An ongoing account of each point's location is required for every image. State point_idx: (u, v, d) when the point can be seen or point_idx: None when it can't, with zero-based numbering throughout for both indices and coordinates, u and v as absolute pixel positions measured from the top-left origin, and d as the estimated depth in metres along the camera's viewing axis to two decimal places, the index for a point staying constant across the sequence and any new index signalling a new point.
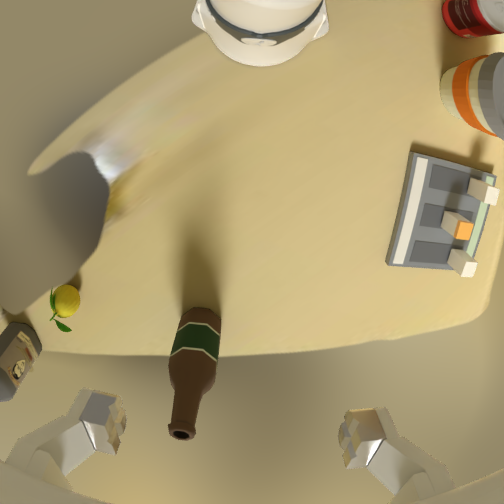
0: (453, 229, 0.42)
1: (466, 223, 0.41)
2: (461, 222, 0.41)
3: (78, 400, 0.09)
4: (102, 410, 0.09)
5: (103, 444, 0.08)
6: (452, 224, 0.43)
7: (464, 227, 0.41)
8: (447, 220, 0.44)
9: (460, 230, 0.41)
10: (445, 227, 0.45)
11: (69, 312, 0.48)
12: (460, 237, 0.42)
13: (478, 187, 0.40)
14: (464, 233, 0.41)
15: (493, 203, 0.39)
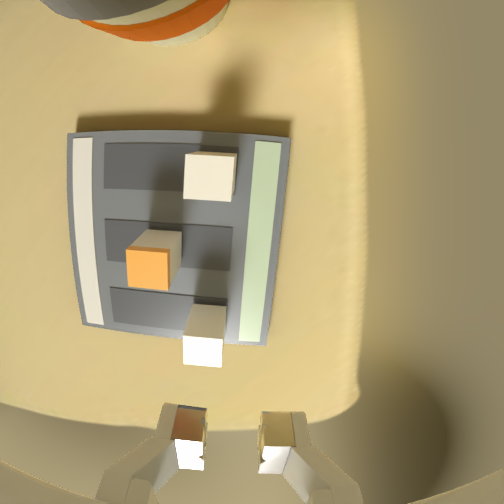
0: None
1: (144, 252, 0.21)
2: (129, 251, 0.21)
3: (164, 417, 0.09)
4: (194, 426, 0.09)
5: (192, 460, 0.08)
6: None
7: (141, 261, 0.21)
8: None
9: (133, 269, 0.21)
10: None
11: None
12: (140, 284, 0.22)
13: None
14: (147, 275, 0.21)
15: (220, 196, 0.20)
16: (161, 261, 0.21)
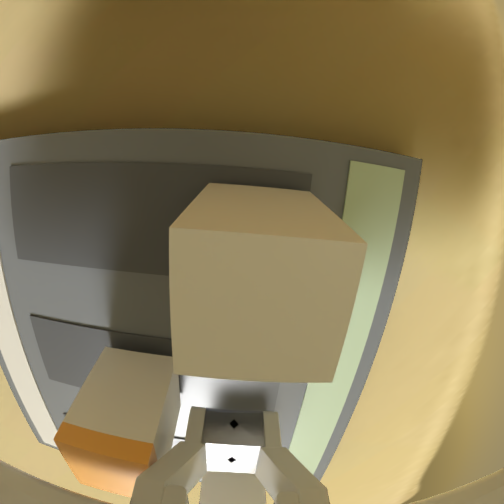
0: None
1: (94, 453, 0.07)
2: (62, 442, 0.07)
3: (193, 421, 0.09)
4: (224, 428, 0.09)
5: (221, 463, 0.09)
6: None
7: (93, 464, 0.07)
8: None
9: (80, 468, 0.07)
10: None
11: None
12: (102, 487, 0.07)
13: None
14: (112, 481, 0.07)
15: (299, 372, 0.06)
16: (137, 472, 0.07)
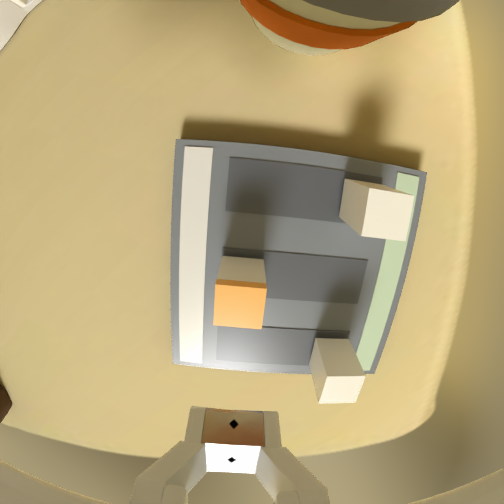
0: None
1: (238, 288, 0.19)
2: (219, 286, 0.19)
3: (192, 421, 0.09)
4: (224, 428, 0.09)
5: (220, 463, 0.09)
6: None
7: (233, 298, 0.19)
8: None
9: (222, 306, 0.19)
10: None
11: None
12: (229, 323, 0.19)
13: (354, 197, 0.19)
14: (239, 313, 0.19)
15: (396, 235, 0.18)
16: (258, 298, 0.19)
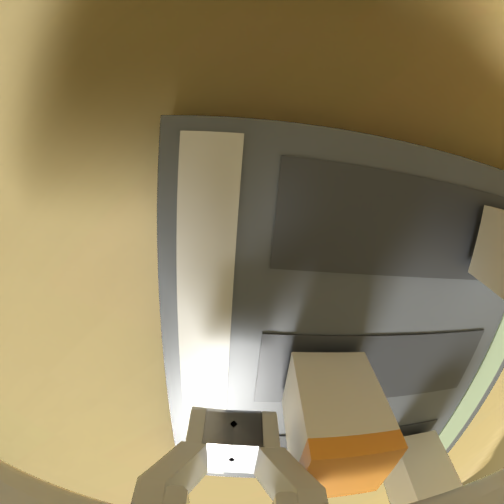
0: (294, 457, 0.09)
1: (357, 456, 0.07)
2: (319, 459, 0.07)
3: (193, 421, 0.09)
4: (225, 428, 0.09)
5: (221, 463, 0.09)
6: (296, 433, 0.09)
7: (343, 470, 0.07)
8: (291, 399, 0.11)
9: (318, 481, 0.08)
10: (285, 419, 0.11)
11: None
12: None
13: None
14: (346, 483, 0.08)
15: None
16: (388, 461, 0.07)
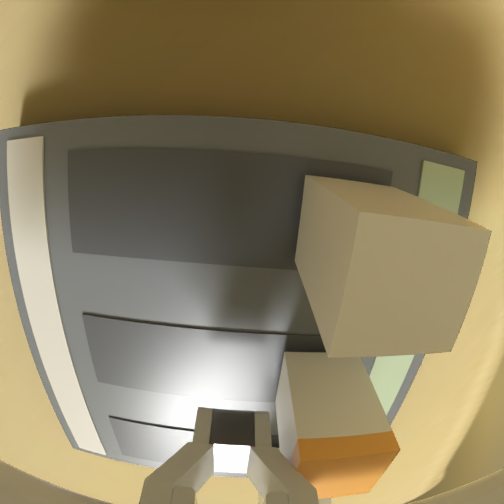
0: (286, 457, 0.09)
1: (347, 458, 0.07)
2: (308, 460, 0.07)
3: (200, 422, 0.09)
4: (232, 429, 0.09)
5: (228, 463, 0.09)
6: (287, 434, 0.09)
7: (333, 472, 0.07)
8: (283, 399, 0.11)
9: None
10: (278, 420, 0.11)
11: None
12: None
13: (320, 229, 0.07)
14: (337, 484, 0.08)
15: (431, 343, 0.06)
16: (380, 463, 0.07)
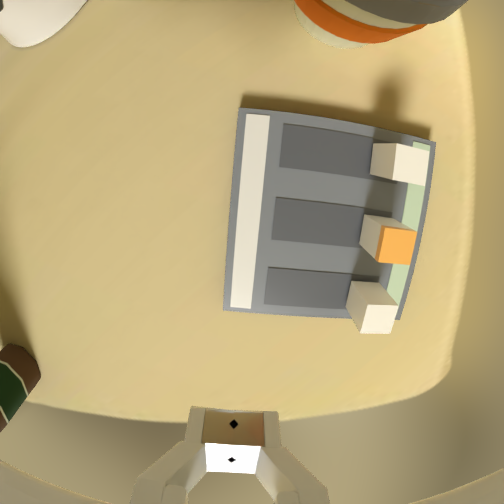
0: (375, 245, 0.25)
1: (399, 231, 0.23)
2: (387, 229, 0.23)
3: (192, 421, 0.09)
4: (224, 428, 0.09)
5: (220, 463, 0.09)
6: (373, 236, 0.25)
7: (395, 239, 0.23)
8: (367, 230, 0.27)
9: (387, 245, 0.23)
10: (364, 244, 0.27)
11: None
12: (389, 260, 0.24)
13: (383, 154, 0.23)
14: (397, 251, 0.23)
15: (418, 181, 0.22)
16: (411, 239, 0.23)
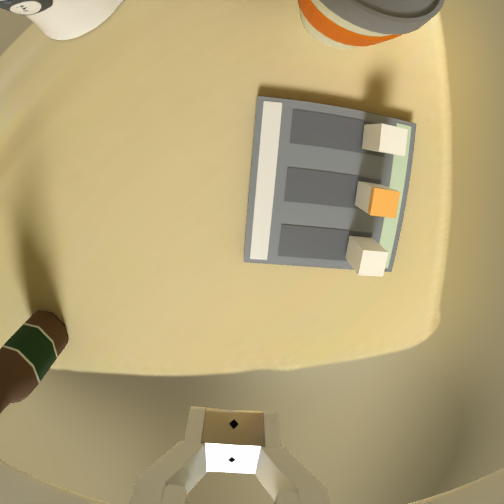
0: (367, 202, 0.31)
1: (386, 190, 0.30)
2: (376, 189, 0.29)
3: (192, 421, 0.09)
4: (224, 428, 0.09)
5: (220, 463, 0.09)
6: (366, 196, 0.32)
7: (383, 197, 0.30)
8: (361, 193, 0.33)
9: (377, 202, 0.30)
10: (359, 203, 0.34)
11: None
12: (379, 213, 0.30)
13: (372, 132, 0.30)
14: (385, 207, 0.30)
15: (399, 152, 0.28)
16: (395, 197, 0.30)
